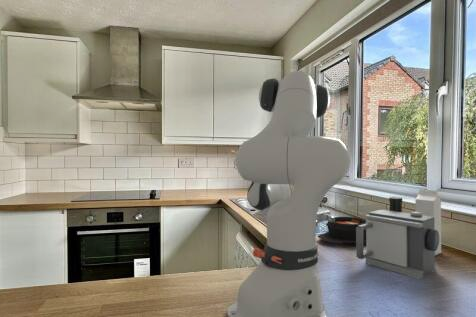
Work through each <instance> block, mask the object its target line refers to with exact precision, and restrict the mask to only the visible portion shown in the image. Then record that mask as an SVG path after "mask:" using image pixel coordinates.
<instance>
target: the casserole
mask: <svg viewBox="0 0 476 317" xmlns="http://www.w3.org/2000/svg"><path fill="white" fill-rule="evenodd" d="M334 217H335V221H334V222H328V221H327V222H326V223H325V225H326V227H327V229H328V231H326V232H324V233H320V234H318V235H317V237H318V238H319V239H320V240H322V241H325V242H328V243H332V244H333V243H334V244H345V245H356V228H357V227H358V226H359V225H363V224H366V219H363V218H359V217H353V216H334ZM365 243H366V229H365V230H363V244H365Z"/></svg>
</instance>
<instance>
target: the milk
mask: <svg viewBox="0 0 476 317" xmlns="http://www.w3.org/2000/svg"><path fill="white" fill-rule="evenodd" d="M414 202H415V206H414V207H415V212H421V213H422V215H424V216H431V217H434V230H437V231H438V233H439V245H438V248H437V250H436V251H435V256H437V255H439V254H442V199H441V197H440V196H439V194H438V191H437V190H429V189H419V190H418V194H417V196H416V198H415V200H414Z"/></svg>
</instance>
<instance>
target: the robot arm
mask: <svg viewBox="0 0 476 317" xmlns="http://www.w3.org/2000/svg"><path fill="white" fill-rule="evenodd" d="M328 89H329V88H327V86H324V85H322V84H319V83H317V84H315V83H314V80H313V79H312V77H311V75H309V73H307V72H304V71H300V70H295V71H290V72H289V73H287V74H286V75H285V76H284V77H283V78H282V79H277V78H268V79H266V80H264V81H263V83H262V85H261V87H260V88H259V91H258V101H259V106H260V108H261V109H262V110H263V111H266V112H268V113H272V114H271V118H270V120H269V122H268V124H266V126H265V127H264V128H263V129H262V130H261V131H260V132H258V133H257V134H256V135H255V136H253V137H251V138H250V139H247V140H245V141H244V142H242V143H241V145H240V146H239V148H238V149H237V151H236V153H235V154H236V155H235V167H236V169H237V173H238V174H239V176H240V177H241V178H242V179H243V180H244V181H247V182H251V184H250V185H249V187H248V189H247V192H246V198H247V202H248V204H249V205H250V206H251V207H252V208H254V209H255V210H258V211H260V213H261V216H262V217H263V218H265V219H266V242H265V244H264V248H263V249H261V248H259V247H254V248H253V250H252V256H253V257H255V258H258V259H260V262H259V263H258V265H257V266H256V267H255V268H254V269H253V270H252V272H251V273H250V274H249V275H248V277H246V278H245V279H244V280H243V282H242V283H241V284H240V286H239V289H238V293H237V301H236V302H235V303H233V304H231V305H229V306H228V307H227V308H226V315H228V316H227V317H327V314H326V312H325V311H324V310H325V308H324V305H323V294H322V285H321V279H320V275H319V272H318V269H317V263H318V262H319V261H318V260H319V252H318V245H317V244H316V235H317V234H316V233H317V232H316V231H317V230H316V229H317V227H318V226H319V223H323V222H327V223H328V222H334V221H335V217H336V216H334V215H331V211H330V210H329V209H327V208H323V207H320V205H321V203H322V201H323V199H324V197H325V196H326V195H327V193H328V192H329V191H330V190H331V189H332V188H334V186H335V185H337V184H338V183H340V182H342V180H344V178H346V176H347V174H348V172H349V169H350V166H351V157H350V156H351V155H350V153H349V149H348V148H347V146H346V145H345V143H344V142H343V141H342V140H340V139H339V138H333V137H327V136H320V135H314V136H311V133H312V132H313V131H314V129H315V127H316V124H317V119H319V118H322V117H323V116H324V115H325V114H326V112H327V110H328V108H329V105H330V102H331V101H330V100H331V98H330V91H329V90H328ZM309 135H310V136H309ZM291 186H292V187H293V191H292V187H291Z"/></svg>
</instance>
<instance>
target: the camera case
mask: <svg viewBox="0 0 476 317" xmlns="http://www.w3.org/2000/svg"><path fill="white" fill-rule="evenodd" d="M364 218H365V219H364V220H366V219H371V220H377V221H383V222H388V223H394V224H400V225H406V226H407V267H403V266H399V265H396V264H392V263H388V262H385V261H381V260H378V259H374V258H370V257H367V258H365V264H367V265H371V266H374V267H378V268H381V269H384V270H387V271H391V272H393V273H397V274H400V275H401V274H402V275H405V276H408V277H411V278H415V279H418V280H421V279H423V278H424V277H426V276H428V275H430V274H431V273H433V272H434V271H436V270H435V269H436V268H435V266H436V265H435V264H436V263H435V258H436V255H435V251H436V250H437V248H438V245H439V233H438V231H437V230H434V217H431V216H424V215H422V213H421V212H416V211H410V213H409V212H403V211H402V212H395V211H389V210H387V209H378V210H375V211H374V210H373V211H369V212H368V214H366V215H365V217H364Z"/></svg>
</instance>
